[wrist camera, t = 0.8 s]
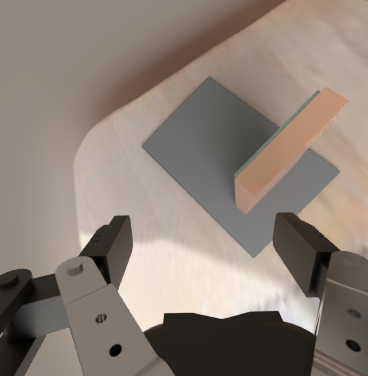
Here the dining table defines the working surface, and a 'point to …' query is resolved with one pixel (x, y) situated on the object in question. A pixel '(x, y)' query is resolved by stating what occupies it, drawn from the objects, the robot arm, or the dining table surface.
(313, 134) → the glazed tile
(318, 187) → the mat
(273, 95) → the dining table surface
